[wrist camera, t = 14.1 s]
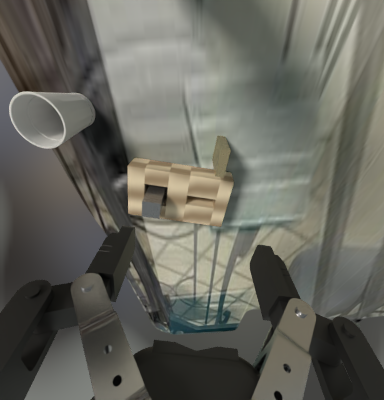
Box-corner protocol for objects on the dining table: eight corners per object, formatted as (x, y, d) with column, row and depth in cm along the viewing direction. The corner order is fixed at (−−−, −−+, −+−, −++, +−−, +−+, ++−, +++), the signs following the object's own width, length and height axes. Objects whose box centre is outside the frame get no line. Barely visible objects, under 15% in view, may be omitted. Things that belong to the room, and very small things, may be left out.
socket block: (134, 157, 45) (127, 165, 41) (230, 172, 46) (234, 182, 42) (134, 202, 51) (128, 213, 47) (219, 214, 52) (220, 226, 48)
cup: (70, 134, 43) (30, 152, 32) (50, 92, 39) (-4, 98, 28) (105, 127, 42) (75, 143, 31) (88, 83, 38) (47, 86, 27)
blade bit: (217, 135, 42) (221, 148, 34) (225, 136, 42) (230, 150, 34) (212, 159, 45) (215, 176, 37) (219, 160, 45) (223, 177, 37)
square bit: (152, 178, 47) (142, 201, 39) (167, 181, 48) (160, 203, 39) (151, 192, 49) (141, 216, 41) (166, 194, 50) (159, 218, 41)
